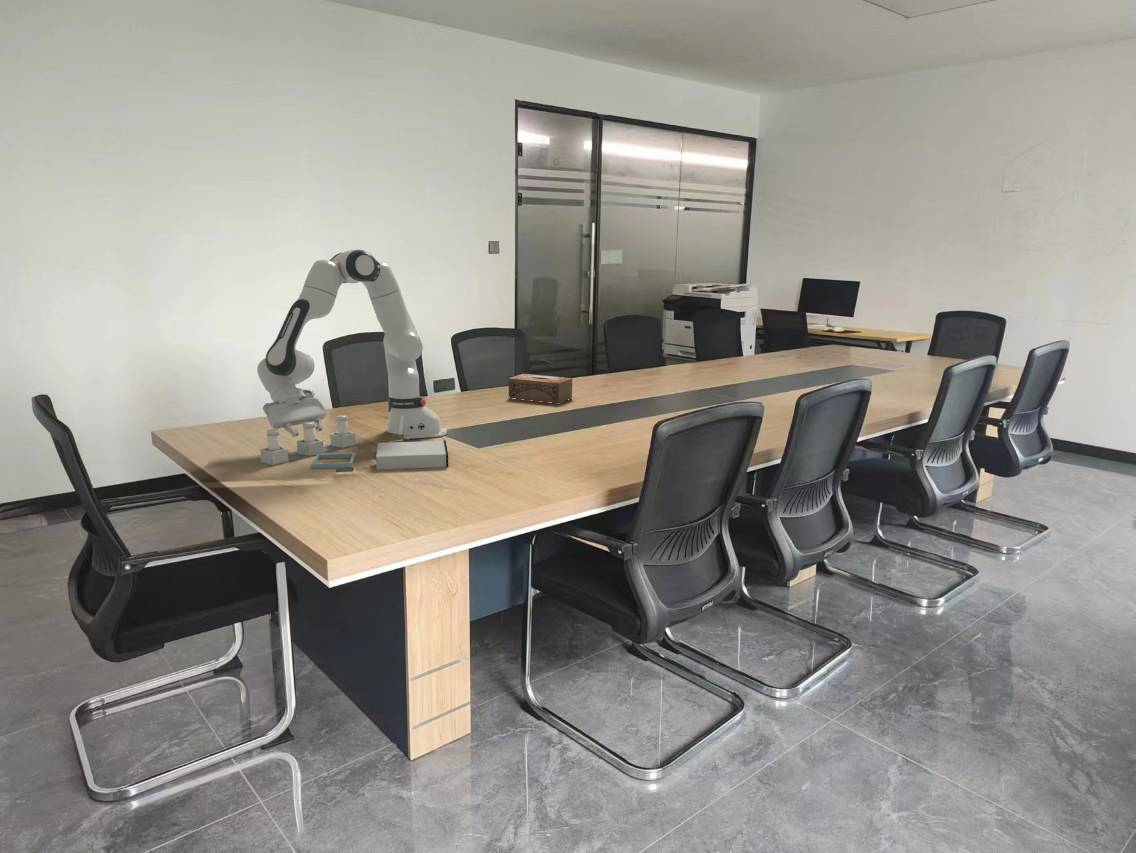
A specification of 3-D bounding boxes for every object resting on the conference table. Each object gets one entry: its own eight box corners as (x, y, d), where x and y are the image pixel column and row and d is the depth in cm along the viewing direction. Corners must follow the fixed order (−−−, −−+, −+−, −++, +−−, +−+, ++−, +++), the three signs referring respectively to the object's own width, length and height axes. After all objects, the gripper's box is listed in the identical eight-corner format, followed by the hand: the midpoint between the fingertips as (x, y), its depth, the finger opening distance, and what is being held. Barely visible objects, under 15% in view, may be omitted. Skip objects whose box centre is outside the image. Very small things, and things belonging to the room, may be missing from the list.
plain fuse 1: (282, 459, 249) (280, 429, 247) (280, 462, 246) (278, 431, 244) (269, 459, 249) (267, 429, 247) (267, 463, 245) (265, 432, 243)
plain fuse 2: (349, 443, 271) (348, 415, 269) (348, 445, 267) (347, 417, 265) (338, 443, 270) (336, 415, 268) (336, 446, 267) (335, 417, 264)
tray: (355, 461, 254) (355, 453, 254) (352, 471, 243) (351, 463, 242) (317, 462, 252) (316, 454, 252) (312, 472, 241) (311, 464, 240)
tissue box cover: (572, 399, 364) (572, 378, 362) (559, 404, 351) (559, 383, 349) (522, 394, 374) (522, 373, 372) (508, 399, 361) (508, 378, 359)
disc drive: (448, 468, 250) (448, 453, 249) (376, 471, 246) (376, 455, 245) (446, 454, 267) (445, 439, 266) (378, 456, 263) (378, 442, 262)
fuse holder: (257, 466, 246) (256, 449, 245) (346, 445, 274) (345, 429, 273) (270, 470, 242) (269, 453, 241) (359, 448, 271) (358, 432, 269)
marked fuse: (317, 451, 260) (315, 421, 258) (315, 453, 257) (314, 424, 254) (305, 451, 260) (303, 422, 257) (303, 454, 256) (301, 424, 254)
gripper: (264, 398, 250) (284, 432, 247) (317, 390, 266) (337, 422, 263) (256, 410, 253) (277, 444, 250) (309, 401, 270) (329, 432, 267)
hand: (308, 432), depth 257 cm, fingers open, 8 cm apart
